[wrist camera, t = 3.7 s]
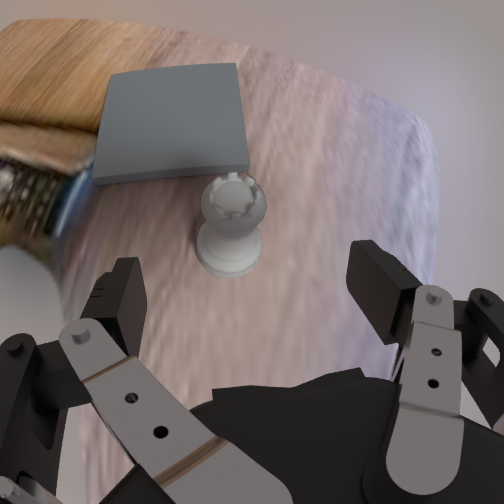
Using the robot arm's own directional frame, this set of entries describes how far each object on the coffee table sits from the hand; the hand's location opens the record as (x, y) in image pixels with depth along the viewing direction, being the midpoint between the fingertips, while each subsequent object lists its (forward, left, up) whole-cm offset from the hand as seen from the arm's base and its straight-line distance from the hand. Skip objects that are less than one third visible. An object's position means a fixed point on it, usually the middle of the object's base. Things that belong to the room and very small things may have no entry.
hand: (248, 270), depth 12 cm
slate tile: (-4, +16, -10) cm, 19 cm away
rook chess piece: (0, +4, -10) cm, 11 cm away
